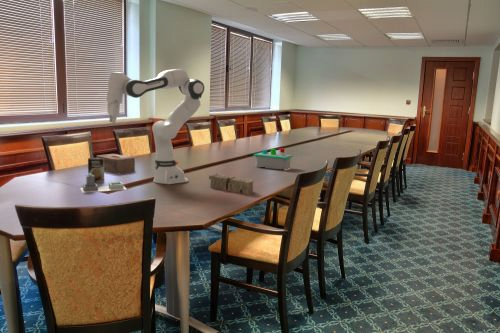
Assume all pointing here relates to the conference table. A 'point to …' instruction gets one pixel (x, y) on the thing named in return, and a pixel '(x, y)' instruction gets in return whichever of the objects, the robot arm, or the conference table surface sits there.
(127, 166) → the tissue box cover
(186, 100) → the robot arm
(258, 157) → the control panel
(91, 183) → the plug
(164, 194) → the conference table surface
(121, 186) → the panel
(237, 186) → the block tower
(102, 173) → the coffee box
